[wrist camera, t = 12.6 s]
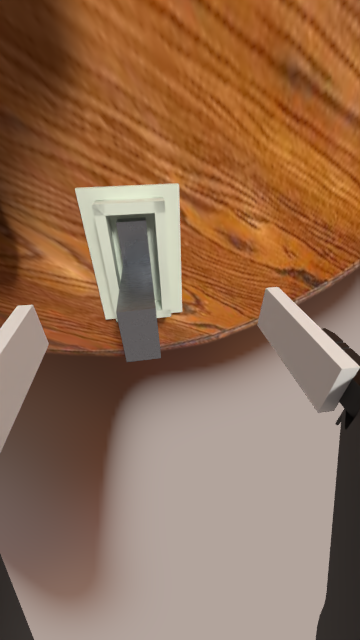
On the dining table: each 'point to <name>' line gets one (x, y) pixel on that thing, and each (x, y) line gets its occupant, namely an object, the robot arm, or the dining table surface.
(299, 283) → the dining table surface
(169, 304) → the rectangular frame
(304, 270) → the dining table surface
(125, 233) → the grey l-shaped block
